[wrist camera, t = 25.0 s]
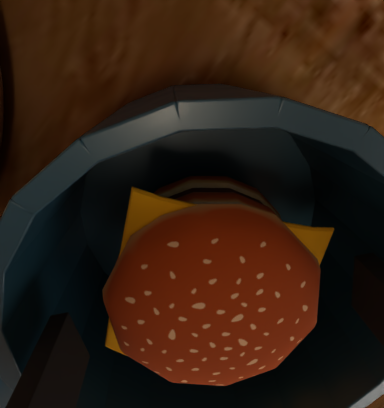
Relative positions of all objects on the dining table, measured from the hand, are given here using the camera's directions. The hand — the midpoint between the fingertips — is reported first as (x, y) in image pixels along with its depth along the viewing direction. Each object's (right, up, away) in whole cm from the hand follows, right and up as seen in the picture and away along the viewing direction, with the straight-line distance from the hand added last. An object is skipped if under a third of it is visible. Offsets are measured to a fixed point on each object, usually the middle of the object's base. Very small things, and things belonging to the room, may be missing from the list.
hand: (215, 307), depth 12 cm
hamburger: (0, +2, +4) cm, 5 cm away
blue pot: (0, +3, +8) cm, 8 cm away
